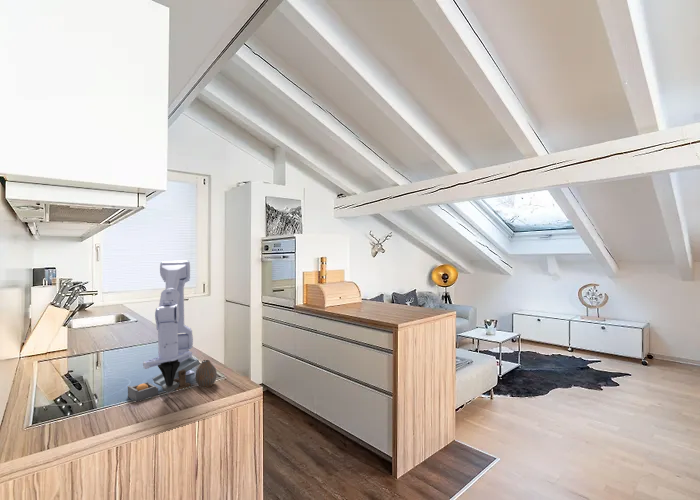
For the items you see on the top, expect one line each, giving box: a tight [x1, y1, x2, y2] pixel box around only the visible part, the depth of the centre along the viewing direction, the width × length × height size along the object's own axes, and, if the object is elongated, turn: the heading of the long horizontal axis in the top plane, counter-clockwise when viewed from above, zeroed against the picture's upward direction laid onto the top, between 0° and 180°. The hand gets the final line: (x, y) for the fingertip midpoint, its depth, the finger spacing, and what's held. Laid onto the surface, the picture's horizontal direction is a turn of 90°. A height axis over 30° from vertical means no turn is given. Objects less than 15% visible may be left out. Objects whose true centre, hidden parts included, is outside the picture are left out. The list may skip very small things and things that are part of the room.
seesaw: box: [152, 356, 201, 394], centre depth 123 cm, size 14×15×2 cm
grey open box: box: [127, 381, 159, 403], centre depth 117 cm, size 7×7×4 cm
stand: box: [173, 369, 192, 391], centre depth 126 cm, size 10×5×6 cm, turn 51°
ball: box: [137, 383, 148, 391], centre depth 117 cm, size 4×4×4 cm
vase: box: [195, 359, 218, 388], centre depth 125 cm, size 7×7×9 cm
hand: (169, 384), depth 115 cm, fingers closed
